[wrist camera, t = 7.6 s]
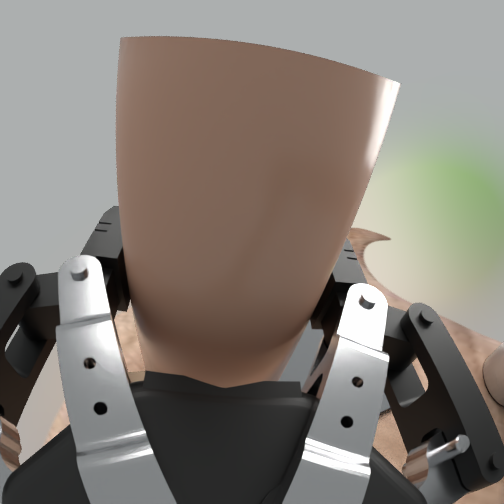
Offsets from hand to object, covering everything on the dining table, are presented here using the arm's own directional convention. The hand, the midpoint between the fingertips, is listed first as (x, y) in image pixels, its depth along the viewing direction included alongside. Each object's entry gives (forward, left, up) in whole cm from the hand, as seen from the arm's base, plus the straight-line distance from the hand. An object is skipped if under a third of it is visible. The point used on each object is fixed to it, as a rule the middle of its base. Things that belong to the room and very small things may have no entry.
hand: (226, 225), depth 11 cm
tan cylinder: (0, +1, -9) cm, 10 cm away
